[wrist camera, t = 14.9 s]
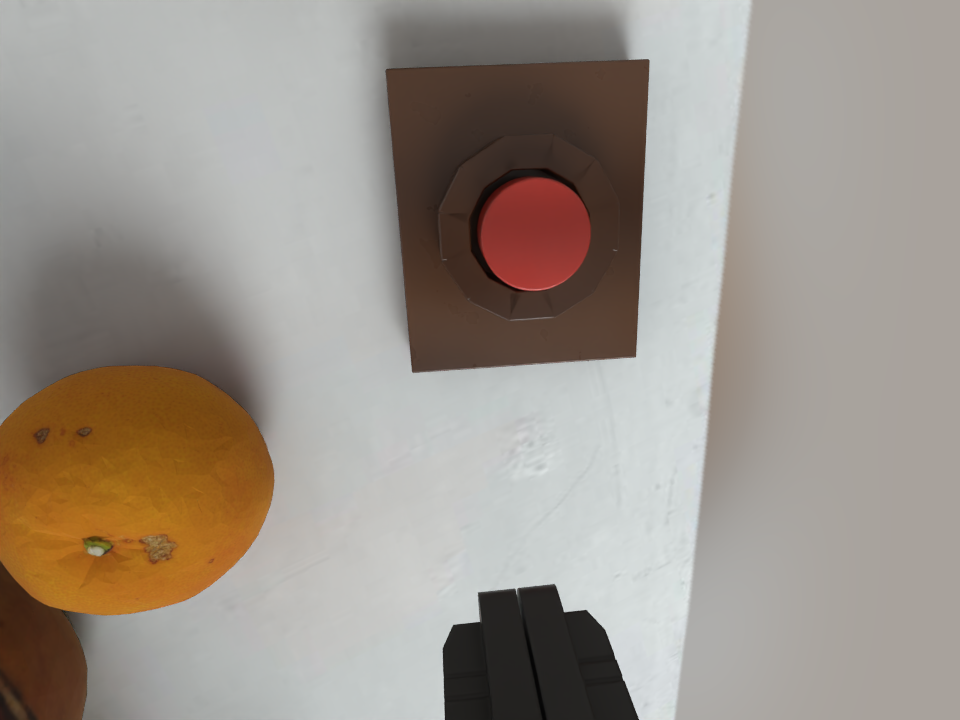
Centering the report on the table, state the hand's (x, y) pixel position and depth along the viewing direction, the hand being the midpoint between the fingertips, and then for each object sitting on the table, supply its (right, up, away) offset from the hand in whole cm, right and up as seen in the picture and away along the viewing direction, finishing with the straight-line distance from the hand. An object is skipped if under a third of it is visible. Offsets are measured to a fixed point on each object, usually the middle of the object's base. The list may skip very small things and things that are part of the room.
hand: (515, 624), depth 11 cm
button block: (+1, +11, +14) cm, 18 cm away
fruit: (-15, +1, +17) cm, 23 cm away
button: (+1, +10, +11) cm, 15 cm away
